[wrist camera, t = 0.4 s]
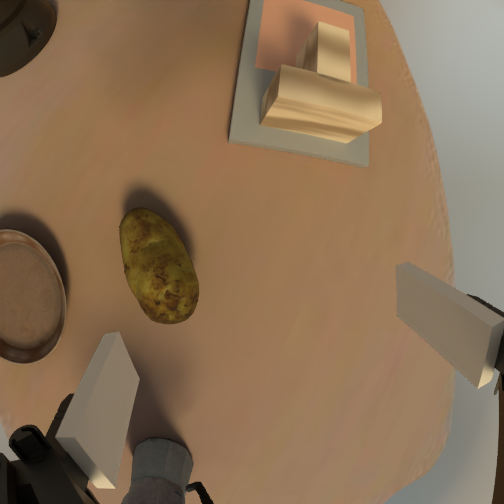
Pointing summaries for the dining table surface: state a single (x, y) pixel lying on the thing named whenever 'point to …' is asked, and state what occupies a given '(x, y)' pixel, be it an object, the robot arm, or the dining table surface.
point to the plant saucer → (29, 300)
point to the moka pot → (162, 474)
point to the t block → (321, 91)
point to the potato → (158, 267)
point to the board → (284, 52)
